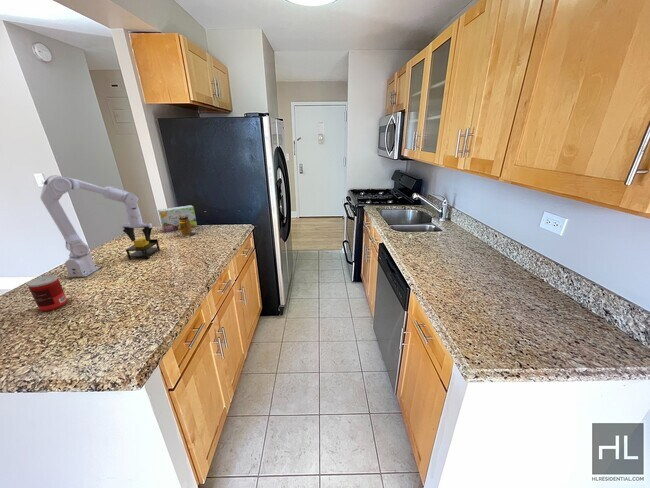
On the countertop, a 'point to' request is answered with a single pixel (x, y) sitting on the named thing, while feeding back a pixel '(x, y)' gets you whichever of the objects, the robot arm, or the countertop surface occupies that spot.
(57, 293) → the canned food
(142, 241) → the yellow block
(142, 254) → the rack
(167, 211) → the snack box
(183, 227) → the condiment
